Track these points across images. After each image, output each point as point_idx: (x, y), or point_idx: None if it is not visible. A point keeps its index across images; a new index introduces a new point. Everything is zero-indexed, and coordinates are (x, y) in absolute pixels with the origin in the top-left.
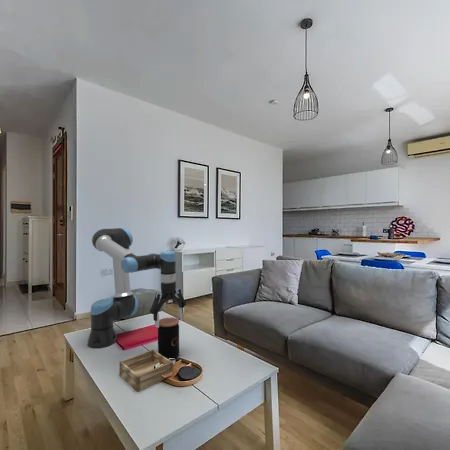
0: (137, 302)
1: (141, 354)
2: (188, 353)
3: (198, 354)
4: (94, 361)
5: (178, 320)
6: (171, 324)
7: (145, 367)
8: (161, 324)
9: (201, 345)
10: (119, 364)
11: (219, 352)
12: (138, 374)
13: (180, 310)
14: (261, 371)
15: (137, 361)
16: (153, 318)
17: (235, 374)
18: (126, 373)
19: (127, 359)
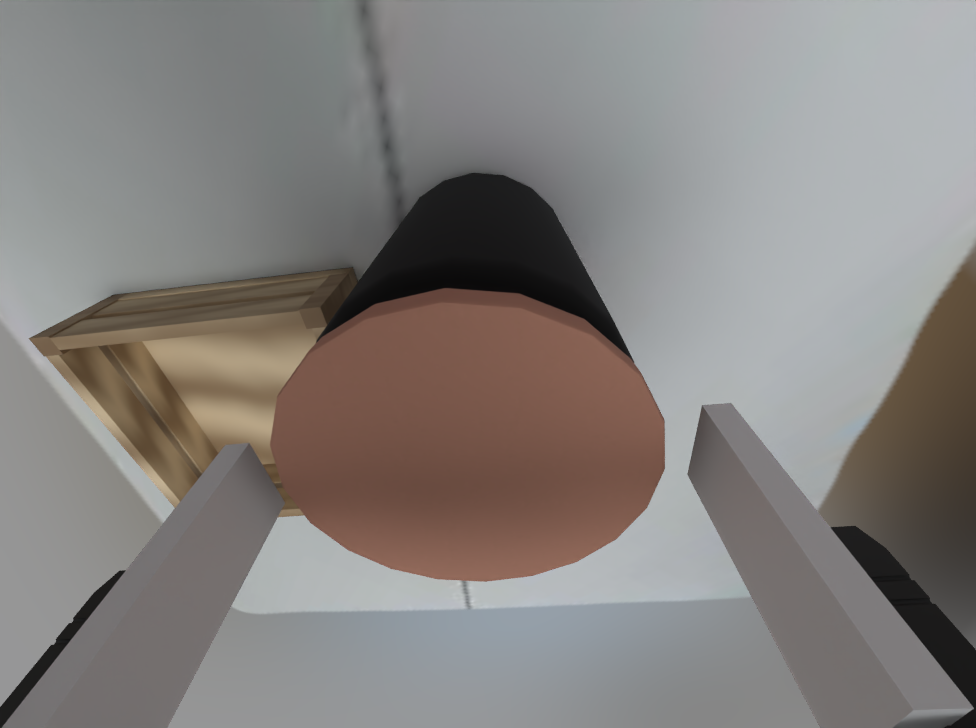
0: None
1: (209, 330)
2: (617, 315)
3: (654, 364)
4: None
5: (616, 532)
6: (447, 579)
7: (277, 338)
8: (312, 523)
9: (786, 266)
10: (48, 330)
11: (762, 415)
12: (229, 380)
13: (800, 678)
14: (716, 586)
15: (204, 306)
16: (74, 618)
17: (631, 559)
18: (138, 396)
19: (92, 340)
